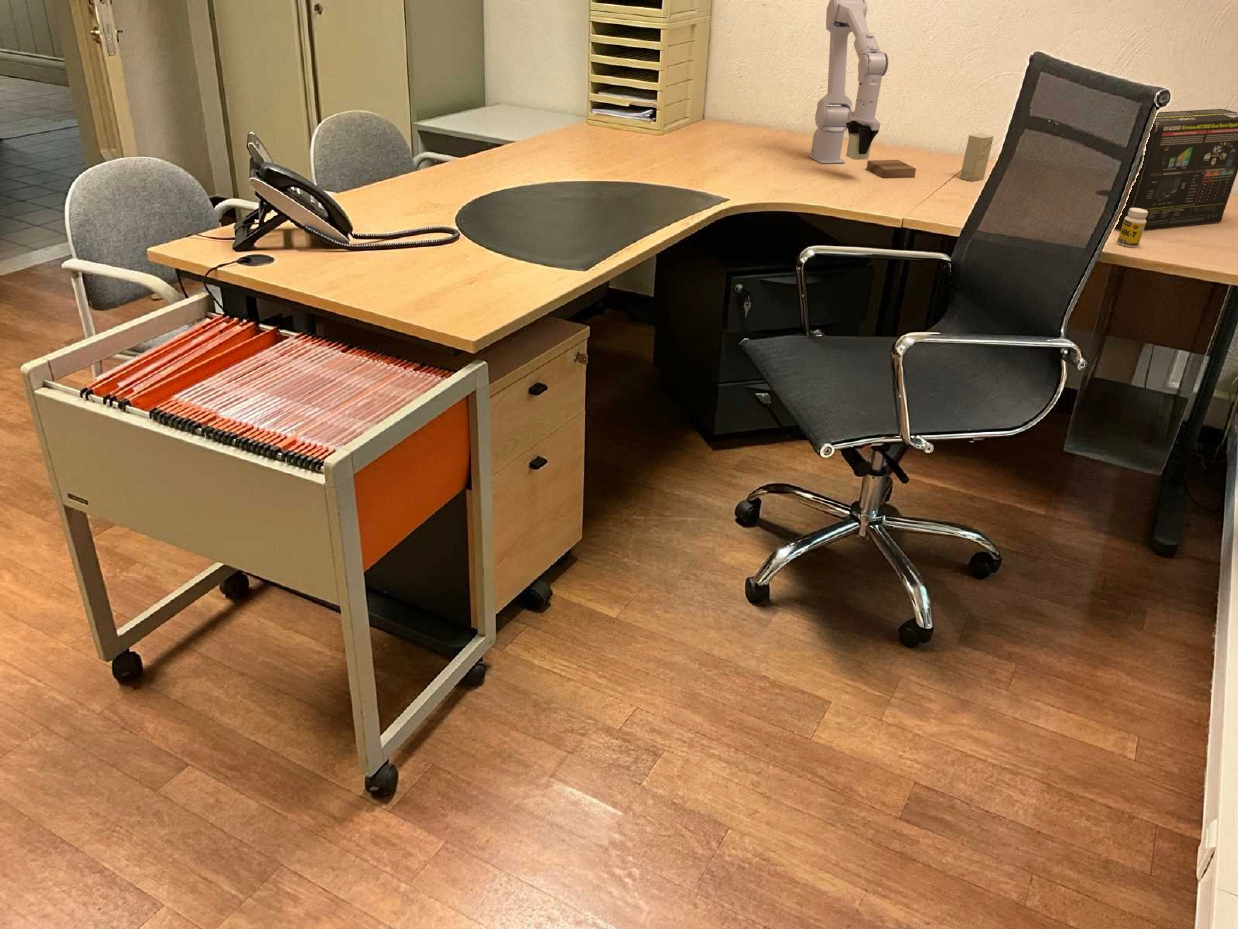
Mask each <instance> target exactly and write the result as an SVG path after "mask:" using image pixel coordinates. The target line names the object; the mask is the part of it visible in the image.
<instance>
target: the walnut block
mask: <svg viewBox="0 0 1238 929" xmlns="http://www.w3.org/2000/svg"><path fill="white" fill-rule="evenodd" d="M866 171H868V172H870V173H872V174H874V175H876V176H877V177H880V178H881V179H883V180H884V179H915V178H916V172H917V168H916V167H914V166H911V165H909V164H907V163H905V161H901V160H899V159H885V160H884V159H878V160H875V159H874V160H872V159H871V160H867V163H866Z"/></svg>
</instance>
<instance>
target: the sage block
mask: <svg viewBox="0 0 1238 929" xmlns="http://www.w3.org/2000/svg"><path fill="white" fill-rule="evenodd" d="M871 147H872V143H871V144H870V147H869V149H868V151H867V154H859V134H850V135H849V134H848V143H847V147H846V148H847V149H846V153H845V154H846V155H845V156H846V157H848V158H849V159H851V160H853V161H860V160H861V161H862V160H864V161H865V160H869V157H870V151H871Z"/></svg>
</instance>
